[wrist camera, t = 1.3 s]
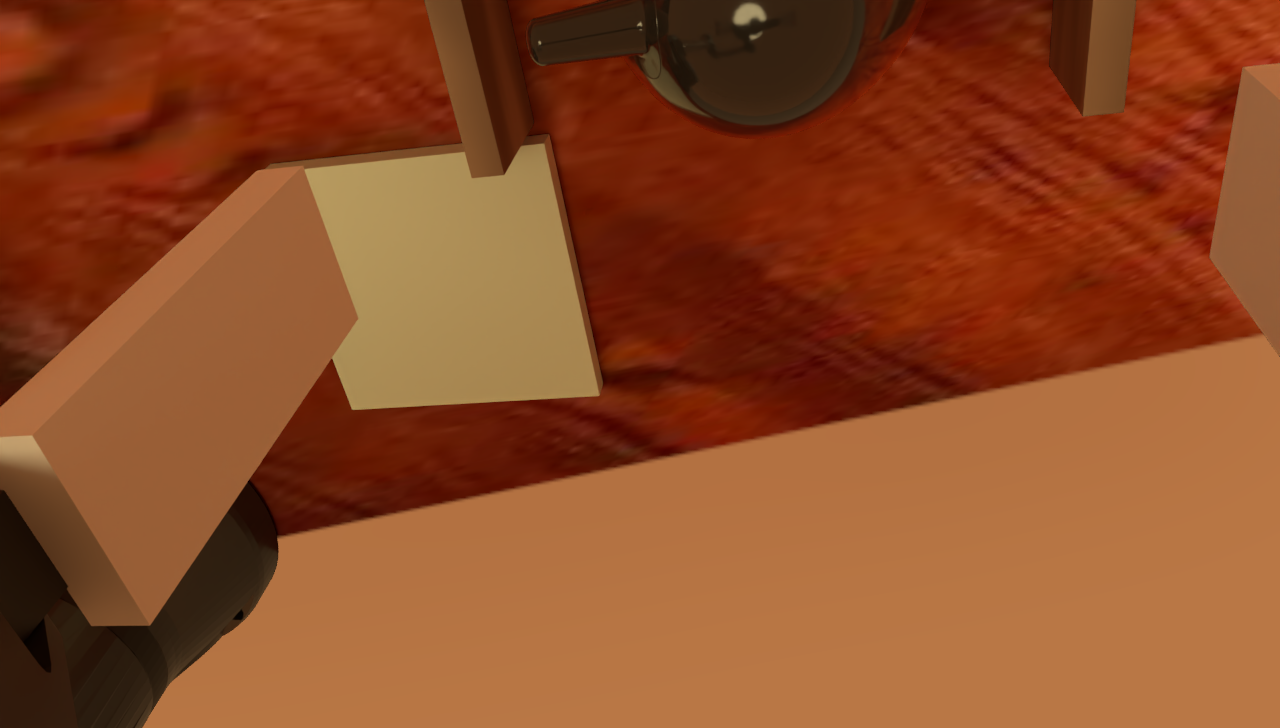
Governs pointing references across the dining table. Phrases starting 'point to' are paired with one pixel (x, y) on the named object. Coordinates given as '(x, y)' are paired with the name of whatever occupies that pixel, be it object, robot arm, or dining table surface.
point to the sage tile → (455, 278)
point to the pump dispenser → (738, 54)
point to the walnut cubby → (501, 115)
